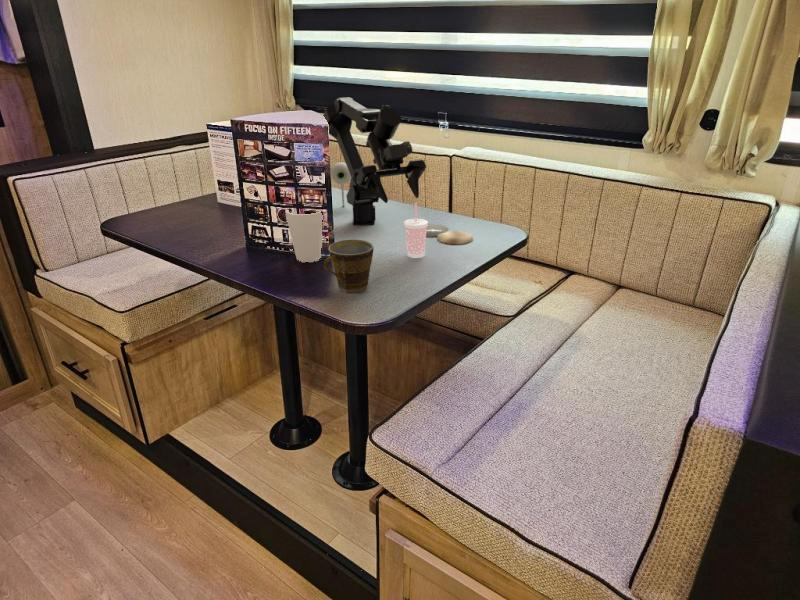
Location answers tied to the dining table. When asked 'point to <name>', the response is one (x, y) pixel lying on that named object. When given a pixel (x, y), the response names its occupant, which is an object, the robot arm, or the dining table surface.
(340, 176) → the lollipop
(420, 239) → the beverage cup
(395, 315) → the dining table surface
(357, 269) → the ceramic cup
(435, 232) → the grey dome cap
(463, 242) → the shiny gold rounded object
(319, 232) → the foam cup
